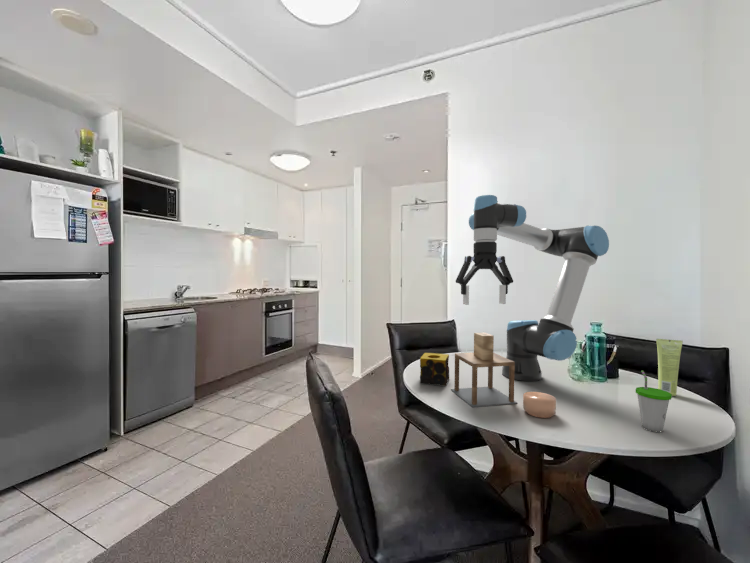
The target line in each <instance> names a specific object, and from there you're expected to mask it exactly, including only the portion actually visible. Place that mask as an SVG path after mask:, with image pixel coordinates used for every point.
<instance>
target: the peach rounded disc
mask: <svg viewBox="0 0 750 563" xmlns="http://www.w3.org/2000/svg"><path fill="white" fill-rule="evenodd" d="M522 397H523V399H522V401H523V402H522V409H523V410H524V411H525V412H526V413H527V414H528V415H529V416H532V417H535V418H540V419H541V418H542V419H548V418H549V419H550V418H551V417H553V416H555V415H556V414H557V398H556V397H555V396H554V395H551V394H549V393H546V392H540V391H527V392H524V393H523V395H522Z"/></svg>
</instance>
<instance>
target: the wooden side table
mask: <svg viewBox="0 0 750 563" xmlns="http://www.w3.org/2000/svg"><path fill="white" fill-rule="evenodd" d="M494 341H495V340H494V335H493V334H490V333H487V332H473V352H457V353H455V352H454V388H453V389H454V390H455V391H459V389H460V361H462V362H463V363H465V364H466V365H468V366H470V367H471V388H472V404H473V405H477V387H478V368H487V387H488V388H494V387H493V385H494V384H493V381H494V375H493V374H494V367H503V366H509V378H508V397H509V401H510V402H514V401H515V379H514V371H515V362H514V361H512V360H509V359H507V358H506V357H505V356H502V355H499V354H498V353H495V352H494V346H495V345H494Z"/></svg>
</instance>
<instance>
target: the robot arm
mask: <svg viewBox="0 0 750 563" xmlns="http://www.w3.org/2000/svg"><path fill="white" fill-rule="evenodd" d="M526 220H527V209H525V207H524V206H522V205H520V204H519V205H518V204H515V203H514V204H510V203H500V202H499V201H498V197H497V195H494V194H482V195H479V196H476V197H475V199H474V202H473V213H471V214H470V216H469V218H468V226H469V228H470V229H471V230H472V231H473V241H474V243H473V256H471V255H465V256H464V259H463V260H464V261H463V264H462V266H461V268H460V271H459V273H458V275H457V277H456V279H455V283H456V284H459V285H460V293H461V295H462V303H463V305H466V306H467V305H468V306H469V305H470V285H468V283H469V282H470V280H472V278H473V277H474V276H475V274H476V273H477V272H478V271H479V270H490V271H491V272H492V273H493V274H494V275H495V277H496V278H497V279H498V281H499V282H500V283H501V284H499V288H498V290H499V294H498V296H499V297H498V303H499V304H502V305H506V301H507V300H506V298H507V297H506V296H507V295H508V292H509V290H508V289H509V288H508V287H509V285H510V284H513V283H514V279H513V276H512V275H511V271H510V270H509V268H508V265H507V263H506V256H504V255H501V256H497V253H498V252H497V248H498V247H497V244H498V243H497V242H496V241H497V239H498V236H501V237H503V238H507V239H509V240H513V241H516V242H519V243H522V244H526V245H529V246H531V247H534V249H535V250H537V251H539V252H543V253H546V254H548V255H553V256H556V257H561V258H562V257H563V259H564V263H563V266H562V269H561V273H560V275H559V277H558V278H559V279H558V280H557V283H556V286H555V289H554V292H553V296H552V298H551V302H550V305H549V307H548V310H547V313H546V315H544V317H541V318H540V319H539V320H540V321H538V320H536V319H534V320H533V319H529V320H528V319H526V320H525V319H522V320H521V319H520V320H519V319H518V320H510V321H509V322H507V325H506V326H507V327H506V328H507V329H506V357H505V358H507V359H509V360H512V361H514V362H515V371H514V381H515V380H517V381H523V382H533V381H534V382H536V381H540V380H542V376H543V375H542V374H543V372H542V369H541V366H540V363H539V360H538V356H539V357H543V358H546V359H548V360H553V361H561V362H562V361H565V360H567V359H569V358H570V357H572V355H573V354H574V353H575V351H576V349H577V345H578V344H577V343H578V341H577V335H576V334H575V333H574V326H573V325H572V321H573V318H574V315H575V312H576V309H577V306H578V304H579V300H580V296H581V293H582V291H583V287H584V285H585V282H586V278H587V277H588V276H587V275H588V273H589V270H590V268H591V266H593V265H596V263H597V260H598V257H602V256H604V255H606V254H607V253H608V251H609V249H610V248H609V247H610V240H609V237H608V236H609V235H608V234H607V232H606V230H605V229H604V228H603V227H601V226H600V225H586V226H580V227H579V226H578V227H571V228H562V229H550V228H548V227H547V228H546V227H545V228H540V227H537V226H534V225H530V224H528V223H526ZM496 262H497V263H498V265H497V264H496ZM471 263H473V265H472V266H471ZM470 266H471V269H470V268H469V267H470ZM498 266H499V267H498ZM469 269H470V270H469ZM501 367H502V368H501V373H502V376H504V377H506V378H508V379H509V366H501Z"/></svg>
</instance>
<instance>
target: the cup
mask: <svg viewBox="0 0 750 563" xmlns="http://www.w3.org/2000/svg"><path fill="white" fill-rule="evenodd" d="M640 372H641V374H642V376H643V377H644V386H639V387H636V388H635V394H637V399H638V400H637V401H638V407H639V409H638V410H639V416H640V423H641V427H642V428H643V429H644V428H645V429H644V430H646V429H647V431H649V430H651V431H650V432H653V431H657V432H656V433H661V432H660V431H663V432H664V427H665V421H666V417H667V414H668V413H667V412H668V408H669V404H670V400H672V398H673V396H672V394H670V393H669V392H667V391H664V390H660V389H658V388H654V387H648V377H647V375H646V373H645V371H644V370H641V371H640Z"/></svg>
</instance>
